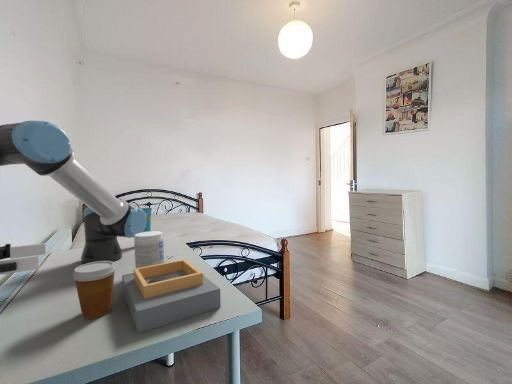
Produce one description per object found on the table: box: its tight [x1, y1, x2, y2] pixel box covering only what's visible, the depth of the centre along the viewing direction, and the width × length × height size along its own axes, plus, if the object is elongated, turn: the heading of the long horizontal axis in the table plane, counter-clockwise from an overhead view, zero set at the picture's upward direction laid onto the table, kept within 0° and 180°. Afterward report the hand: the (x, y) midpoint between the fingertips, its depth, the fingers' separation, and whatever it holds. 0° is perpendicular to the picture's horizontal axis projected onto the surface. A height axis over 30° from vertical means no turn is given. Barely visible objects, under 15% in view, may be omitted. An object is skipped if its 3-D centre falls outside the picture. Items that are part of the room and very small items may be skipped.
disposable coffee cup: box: [71, 261, 117, 320], centre depth 66 cm, size 10×10×12 cm
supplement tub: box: [133, 230, 165, 269], centre depth 92 cm, size 10×10×15 cm
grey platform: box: [121, 258, 222, 334], centre depth 75 cm, size 30×20×8 cm, turn 34°
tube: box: [138, 207, 153, 232], centre depth 134 cm, size 7×5×19 cm, turn 103°
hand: (42, 254), depth 60 cm, fingers open, 13 cm apart
